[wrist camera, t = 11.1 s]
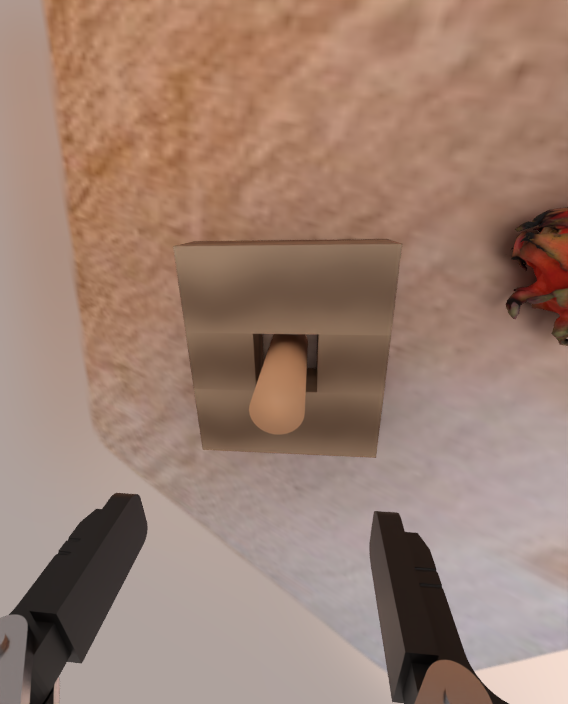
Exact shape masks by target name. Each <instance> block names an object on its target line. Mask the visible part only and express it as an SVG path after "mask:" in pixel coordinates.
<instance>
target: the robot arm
mask: <svg viewBox="0 0 568 704" xmlns="http://www.w3.org/2000/svg"><path fill="white" fill-rule="evenodd" d="M146 535H147V521H146V517H145V513H144V510H143V506H142V502H141V498H140V496H139V495H138V494H125V493H124V494H123V493H115V494H114V495H112V496H111V498H110V499H109V500H108V502H107V503H106V505H105V506H104V507H103V509H96V510H94V511H93V512H92V513H91V514H90V515H88V516H87V517H86V518H85V519H83V521H81V522H80V523H79V525H78V526H77V527H76V529H75V530H74V531H73V533H72V534H71V535H70V536H69V539H68V541H66V542H65V543H64V544H63V546H62V547H61V548H60V550H59V553H58V554H57V555H55V556H54V558H53V559H52V560H51V562H50V563H49V564H48V566H47V567H46V568H45V569H44V571H43V572H42V573H41V575H40V576H39V577H38V579H37V580H36V581H35V583H34V584H33V585H32V587H31V588H30V589H29V591H28V592H27V593H26V595H25V596H24V597H23V599H22V600H21V601H20V603H19V604H18V605H17V606H16V608H15V609H14V610H13V611H12V612H11V613H10V614H9V615H8V616H5V617H2V618H0V704H59V702H60V679H59V675H60V673H61V671H62V670H63V668H64V666H65V664H66V662H75V663H82V662H83V660H84V658H85V656H86V654H87V652H88V650H89V648H90V646H91V645H92V643H93V641H94V639H95V637H96V635H97V633H98V631H99V629H100V627H101V625H102V623H103V621H104V619H105V618H106V615H107V614H108V612H109V610H110V608H111V606H112V604H113V602H114V600H115V598H116V596H117V594H118V592H119V590H120V589H121V587H122V585H123V583H124V581H125V579H126V577H127V575H128V573H129V571H130V569H131V567H132V565H133V563H134V561H135V560H136V558H137V556H138V554H139V552H140V550H141V548H142V546H143V544H144V542H145V539H146ZM370 563H371V569H372V576H373V582H374V588H375V595H376V601H377V607H378V614H379V620H380V627H381V633H382V639H383V646H384V652H385V658H386V665H387V671H388V677H389V684H390V690H391V697H392V702H398V703H404V704H508V703H507V702H505V701H503V700H501V699H500V698H499V697H497V696H496V695H495V694H494V693H493V692H491V691H490V690H489V689H488V688H487V687H486V686H485V685H484V684H483V683H482V682H481V680H480V679H479V678H478V677H477V675H476V674H475V672H474V671H473V669H472V667H471V666H470V664H469V662H468V660H467V657H466V655H465V652H464V649H463V646H462V643H461V641H460V638H459V635H458V632H457V629H456V626H455V623H454V620H453V617H452V614H451V611H450V608H449V605H448V602H447V599H446V596H445V593H444V590H443V589H442V584H441V581H440V578H439V575H438V573H437V572H436V567H435V564H434V561H433V558H432V555H431V552H430V549H429V548H428V547H427V545H426V544H425V543H424V541H423V540H422V539H421V537H420V536H419V534H418V533H411V532H405V531H404V528H403V524H402V521H401V517H400V515H399V513H395V512H380V511H375V512H374V515H373V522H372V529H371V537H370Z"/></svg>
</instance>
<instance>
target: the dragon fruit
mask: <svg viewBox="0 0 568 704" xmlns="http://www.w3.org/2000/svg"><path fill="white" fill-rule="evenodd" d="M539 224H540V225H539ZM537 225H538V227H536V228H534V229H533V230H538V231H539V232H540V234H534V233H532V232H522V233H521V234H520V235H519V236H518V237H517V238H516V241H515V244H514V250H513V254H512V258H511V259H513V260H518V262H519V264H520V266H521V267H522V268H524V269H525V270H526V271H527V267H526V264H527V265H529V266H531V267H532V268H533V269H534V273H535V276H536V278H537V281H536V282H535V283H534V284H532V285H530V286H528V287H520V288H516V289H514V291H515V290H517V291H516V292H514V293H513V294H512V295H511V297H510V298H509V299H508V300H507V303H506V308H507V310H508V313H509V314H510V315H511V317H512V318H513V319H516V317H517V316H518V314H519V309H520V306H521V305H522V304H523V303H524V302H527V301H528V302H529V303H531V304H532V308H539V309H543V310H548V311H552V312H556V313H558V314H560V317H559V318H557V319H556V321H555V323H554V328H553V331H552V334H553V335H554V336H555V337H556V338H557V339H558V341H559V344H560V345H566V346H568V339H566V338H567V337H568V208H560V209H553V210H548V211H546V212H544V213H542V214H540V215H538V216H537V217H536V218H534V220H533V221H532V222H526V223H523V224H522V225H520V226H519V227H518V228H516V229H515V230H516V231H522V230H525V229H528V228H531V227H534V226H537ZM512 249H513V248H512Z"/></svg>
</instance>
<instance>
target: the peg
mask: <svg viewBox="0 0 568 704" xmlns="http://www.w3.org/2000/svg"><path fill="white" fill-rule="evenodd" d="M307 352H308V340H307V337H306V335H305V334H274V335H273V337H272V340H271V343H270V346H269V349H268V352H267V355H266V358H265V361H264V364H263V367H262V370H261V372H260V375H259V378H258V381H257V384H256V387H255V390H254V393H253V396H252V399H251V402H250V405H249V414H250V417H251V419H252V421H253V422H254V424H255V425H256V426H257V427H258V428H260V429H261V430H263V431H265V432H267V433H270V434H276V435H281V434H287V433H290V432H292V431H294V430H295V429H297V428H298V427H299V426H300V425H301V423H302V422H303V419H304V415H305V396H306V374H307Z"/></svg>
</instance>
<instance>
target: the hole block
mask: <svg viewBox="0 0 568 704" xmlns="http://www.w3.org/2000/svg"><path fill="white" fill-rule="evenodd" d="M173 249H174V256H175V263H176V270H177V276H178V283H179V290H180V297H181V304H182V311H183V318H184V324H185V331H186V338H187V345H188V352H189V359H190V365H191V372H192V379H193V386H194V393H195V400H196V406H197V413H198V420H199V427H200V434H201V441H202V448H203V450H220V451H242V452H264V453H285V454H307V455H329V456H351V457H373V458H376V453H377V444H378V436H379V428H380V420H381V412H382V404H383V396H384V388H385V380H386V371H387V363H388V355H389V347H390V339H391V331H392V323H393V315H394V307H395V298H396V290H397V282H398V274H399V266H400V258H401V250H402V244H401V243H398V242H395V241H391V240H388V239H372V240H283V241H195V242H190V243H186V244H181V245H177V246H173ZM262 334H318V336H317V368H307V374H306V396H305V415H304V419H303V422H302V423H301V425H300V426H299V427H298V428H297V429H295V430H294V431H292V432H290V433H287V434H281V435H276V434H270V433H267V432H265V431H263V430H261V429H260V428H258V427H257V426H256V425H255V424H254V422H253V421H252V419H251V417H250V414H249V405H250V402H251V399H252V396H253V393H254V390H255V387H256V384H257V381H258V378H259V375H260V372H261V370H262V367H263V364H264V359H263V337H262Z"/></svg>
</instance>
